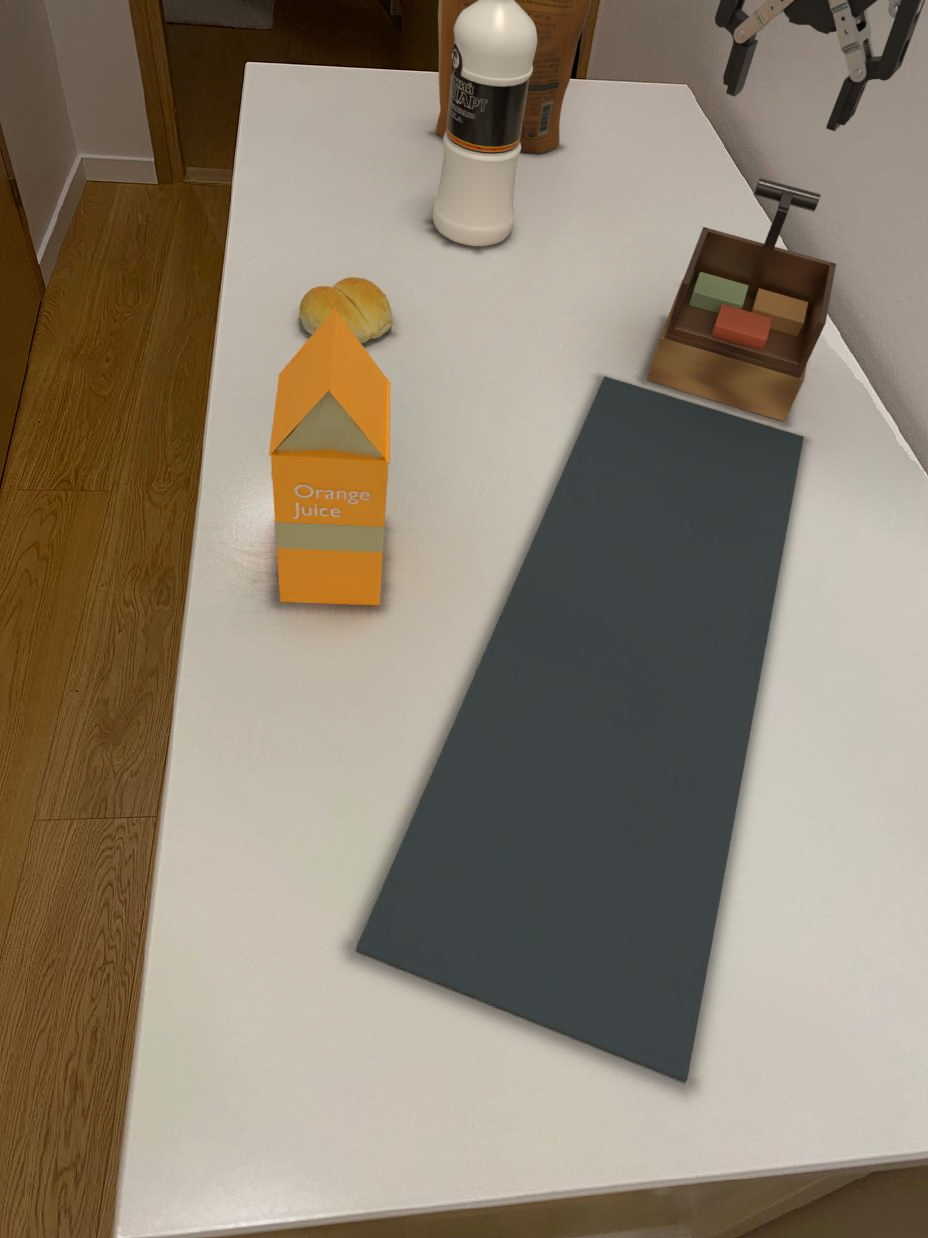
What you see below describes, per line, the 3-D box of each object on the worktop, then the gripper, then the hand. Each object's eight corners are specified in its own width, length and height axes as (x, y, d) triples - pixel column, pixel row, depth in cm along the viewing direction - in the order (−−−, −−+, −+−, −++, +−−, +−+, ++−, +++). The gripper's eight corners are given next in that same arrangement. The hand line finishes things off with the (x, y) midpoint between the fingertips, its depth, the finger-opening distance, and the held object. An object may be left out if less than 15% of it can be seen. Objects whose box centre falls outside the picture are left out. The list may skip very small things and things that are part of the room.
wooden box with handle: (816, 297, 98) (858, 201, 90) (799, 378, 89) (846, 279, 81) (692, 262, 100) (724, 165, 92) (664, 338, 90) (696, 237, 83)
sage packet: (743, 299, 95) (748, 284, 94) (737, 319, 93) (743, 305, 92) (695, 285, 96) (700, 271, 95) (688, 305, 94) (693, 290, 92)
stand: (797, 358, 100) (816, 316, 96) (784, 422, 93) (804, 379, 89) (669, 320, 102) (682, 278, 98) (646, 380, 94) (660, 337, 90)
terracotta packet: (766, 332, 92) (772, 318, 91) (760, 354, 89) (767, 339, 88) (716, 317, 93) (721, 303, 91) (709, 339, 90) (714, 324, 89)
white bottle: (518, 250, 107) (570, -63, 84) (437, 249, 106) (467, -72, 82) (504, 209, 113) (549, -96, 90) (427, 206, 111) (452, -105, 88)
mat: (802, 439, 91) (803, 436, 91) (685, 1082, 53) (687, 1080, 53) (603, 379, 94) (604, 375, 93) (355, 950, 56) (356, 948, 55)
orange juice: (382, 523, 78) (395, 309, 62) (381, 606, 72) (395, 393, 57) (285, 519, 77) (274, 301, 62) (277, 602, 71) (262, 385, 56)
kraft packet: (802, 316, 95) (808, 301, 93) (797, 336, 92) (804, 322, 91) (753, 302, 95) (758, 287, 94) (747, 322, 93) (753, 308, 92)
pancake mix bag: (571, 164, 122) (623, -100, 101) (424, 148, 120) (445, -124, 99) (567, 140, 126) (617, -118, 105) (425, 124, 125) (445, -141, 103)
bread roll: (285, 314, 95) (284, 278, 92) (363, 293, 99) (364, 257, 95) (327, 359, 91) (327, 323, 88) (405, 335, 95) (408, 299, 92)
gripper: (988, -126, 63) (880, 124, 76) (790, -178, 67) (718, 68, 80) (962, -106, 59) (853, 155, 72) (752, -163, 63) (683, 94, 75)
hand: (782, 109), depth 76 cm, fingers open, 8 cm apart
